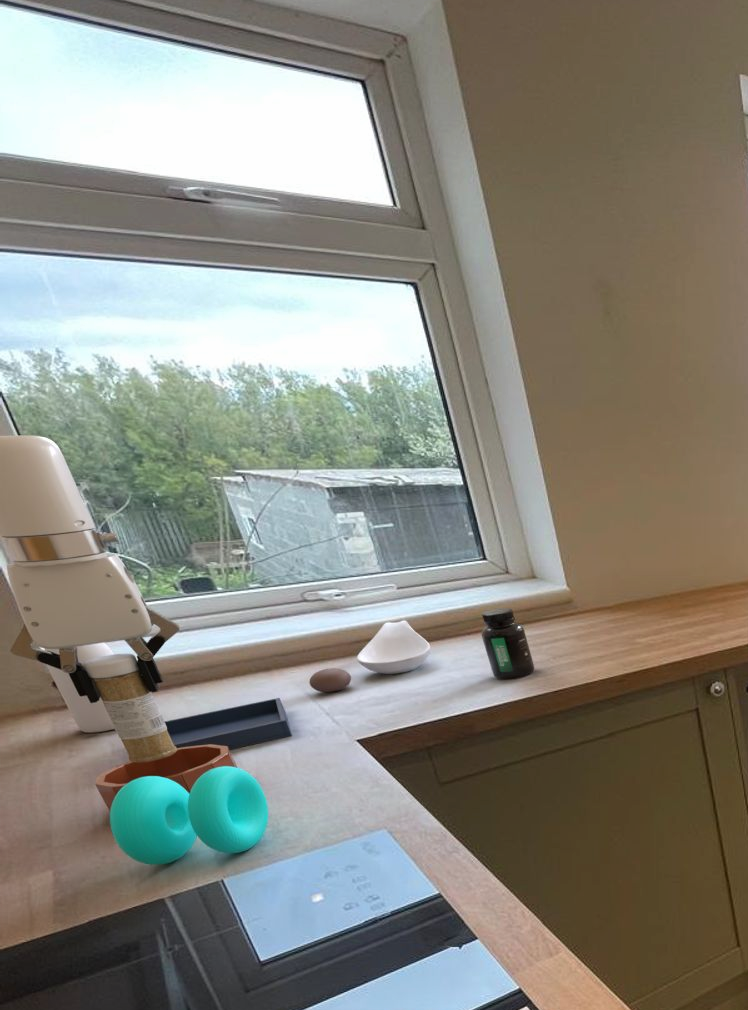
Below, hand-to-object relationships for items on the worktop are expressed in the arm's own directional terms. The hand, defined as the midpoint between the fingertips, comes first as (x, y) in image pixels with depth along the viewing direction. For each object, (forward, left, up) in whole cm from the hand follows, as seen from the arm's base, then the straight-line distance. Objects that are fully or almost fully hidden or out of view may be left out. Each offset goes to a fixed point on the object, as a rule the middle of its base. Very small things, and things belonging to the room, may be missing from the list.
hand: (124, 693), depth 102 cm
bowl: (0, 0, -15) cm, 15 cm away
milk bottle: (-9, +48, -15) cm, 51 cm away
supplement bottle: (+46, +24, -15) cm, 54 cm away
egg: (+20, +40, -15) cm, 47 cm away
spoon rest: (+32, +51, -15) cm, 62 cm away
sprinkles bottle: (0, 0, -9) cm, 9 cm away
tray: (+4, +25, -15) cm, 29 cm away
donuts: (+3, -23, -15) cm, 28 cm away
